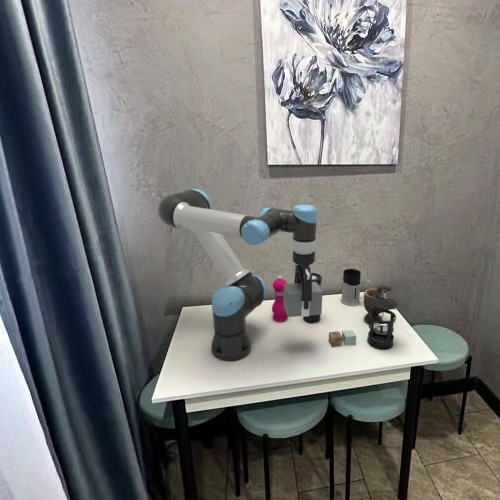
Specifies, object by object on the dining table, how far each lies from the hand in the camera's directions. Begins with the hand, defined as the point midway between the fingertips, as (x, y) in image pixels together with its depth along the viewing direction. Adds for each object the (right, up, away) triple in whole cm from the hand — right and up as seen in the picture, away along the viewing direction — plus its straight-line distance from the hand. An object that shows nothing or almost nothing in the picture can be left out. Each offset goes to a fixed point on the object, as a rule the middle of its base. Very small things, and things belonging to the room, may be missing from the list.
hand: (302, 309), depth 129 cm
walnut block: (+14, -14, +6) cm, 21 cm away
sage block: (+19, -14, +7) cm, 24 cm away
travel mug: (+8, -8, +23) cm, 26 cm away
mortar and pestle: (+33, -9, +19) cm, 39 cm away
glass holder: (+29, -3, +34) cm, 45 cm away
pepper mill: (-6, -8, +25) cm, 27 cm away
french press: (+30, -13, +6) cm, 34 cm away
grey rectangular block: (0, 0, 0) cm, 0 cm away
